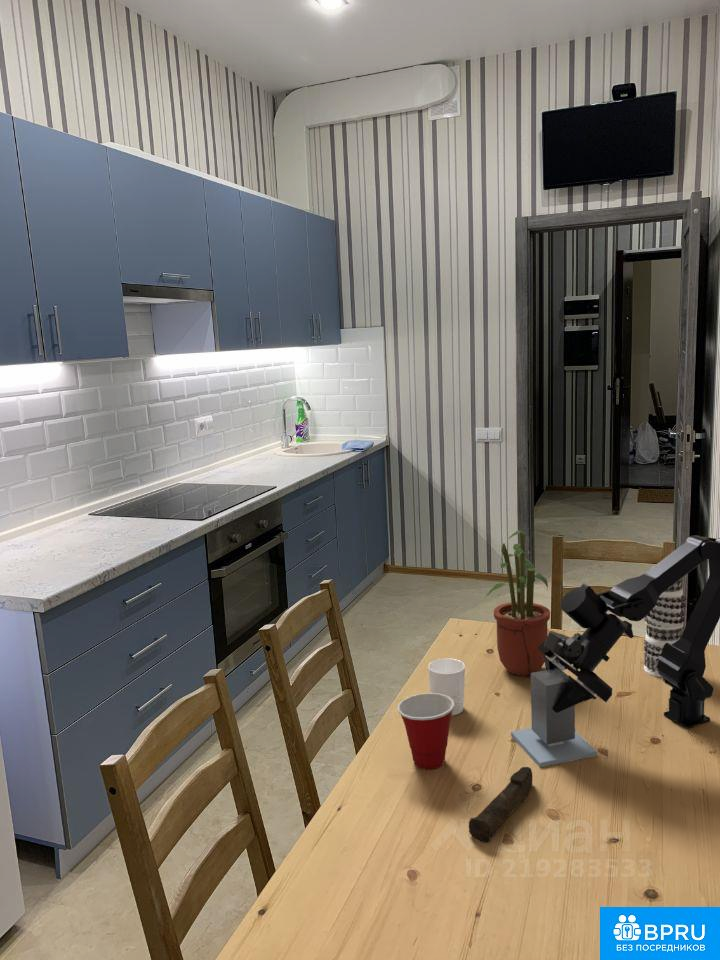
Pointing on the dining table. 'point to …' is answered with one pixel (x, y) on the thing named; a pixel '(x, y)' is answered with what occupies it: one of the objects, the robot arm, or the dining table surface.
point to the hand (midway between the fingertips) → (546, 703)
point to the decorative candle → (663, 625)
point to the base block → (552, 748)
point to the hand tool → (502, 806)
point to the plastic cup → (427, 727)
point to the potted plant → (521, 616)
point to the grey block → (551, 707)
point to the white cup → (448, 680)
